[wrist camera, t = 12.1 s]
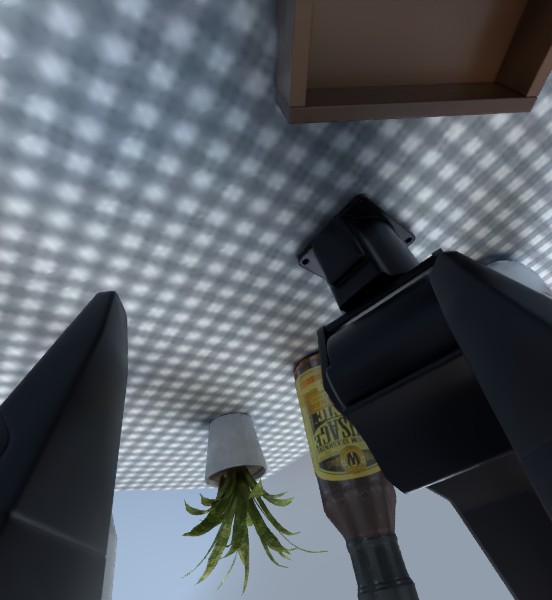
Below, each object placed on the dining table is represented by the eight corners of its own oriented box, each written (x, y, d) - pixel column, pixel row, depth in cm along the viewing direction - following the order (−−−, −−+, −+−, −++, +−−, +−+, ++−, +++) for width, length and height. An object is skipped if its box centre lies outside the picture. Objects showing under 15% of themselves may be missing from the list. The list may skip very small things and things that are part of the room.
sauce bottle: (349, 341, 35) (458, 597, 21) (346, 373, 39) (434, 599, 26) (286, 356, 34) (357, 626, 21) (290, 386, 39) (350, 623, 26)
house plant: (301, 380, 38) (352, 559, 28) (293, 431, 49) (328, 577, 38) (169, 402, 36) (168, 606, 25) (189, 451, 46) (194, 612, 35)
